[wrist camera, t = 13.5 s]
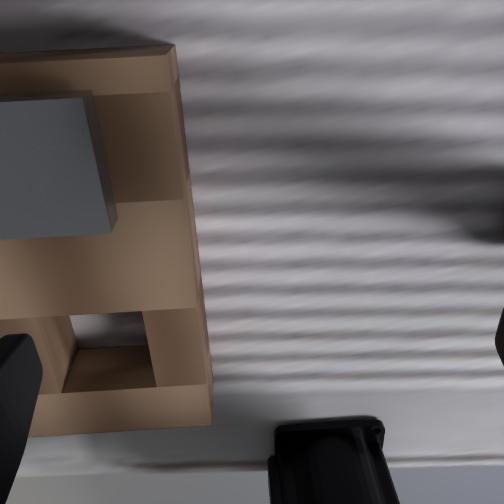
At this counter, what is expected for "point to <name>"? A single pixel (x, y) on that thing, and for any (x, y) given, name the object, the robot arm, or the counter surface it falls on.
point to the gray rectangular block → (53, 167)
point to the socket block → (116, 256)
